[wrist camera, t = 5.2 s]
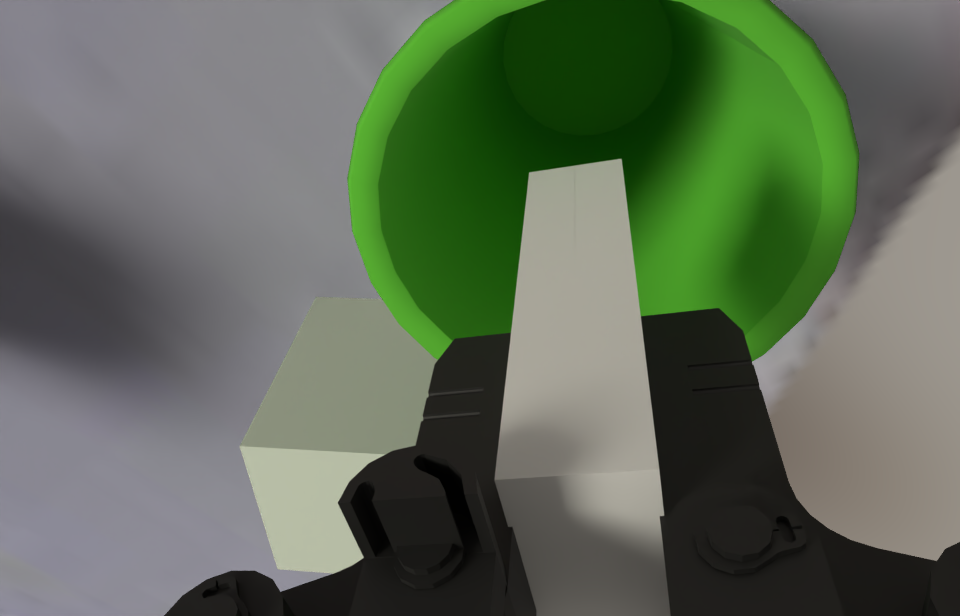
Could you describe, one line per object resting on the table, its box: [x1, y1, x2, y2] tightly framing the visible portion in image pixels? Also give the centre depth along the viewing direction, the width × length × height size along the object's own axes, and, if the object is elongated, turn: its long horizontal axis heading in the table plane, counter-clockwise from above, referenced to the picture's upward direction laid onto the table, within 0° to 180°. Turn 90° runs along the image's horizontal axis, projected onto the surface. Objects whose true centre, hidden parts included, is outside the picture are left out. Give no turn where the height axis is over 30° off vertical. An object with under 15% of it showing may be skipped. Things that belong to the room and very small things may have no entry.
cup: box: [347, 0, 859, 361], centre depth 18 cm, size 9×9×11 cm
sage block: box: [240, 297, 437, 573], centre depth 27 cm, size 6×6×8 cm
